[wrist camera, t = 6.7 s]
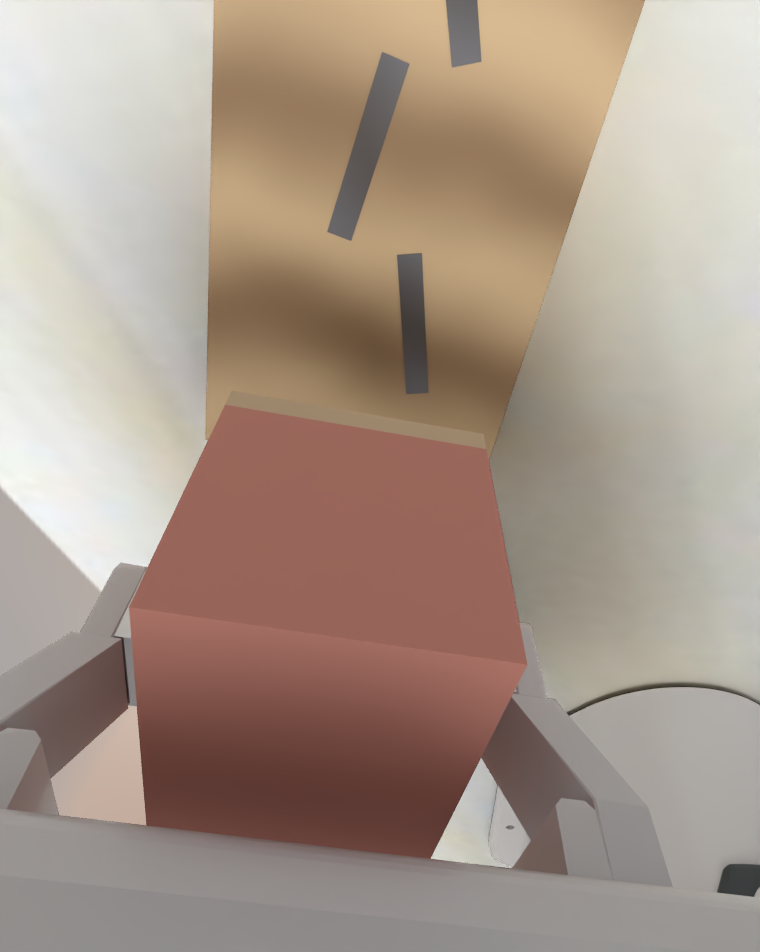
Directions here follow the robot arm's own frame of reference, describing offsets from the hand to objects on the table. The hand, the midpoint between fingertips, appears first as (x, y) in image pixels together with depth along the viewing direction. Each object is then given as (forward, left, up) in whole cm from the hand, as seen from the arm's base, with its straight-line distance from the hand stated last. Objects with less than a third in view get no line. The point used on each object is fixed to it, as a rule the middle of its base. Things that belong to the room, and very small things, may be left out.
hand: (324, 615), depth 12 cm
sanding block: (0, 0, -2) cm, 2 cm away
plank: (+6, 0, -14) cm, 15 cm away
